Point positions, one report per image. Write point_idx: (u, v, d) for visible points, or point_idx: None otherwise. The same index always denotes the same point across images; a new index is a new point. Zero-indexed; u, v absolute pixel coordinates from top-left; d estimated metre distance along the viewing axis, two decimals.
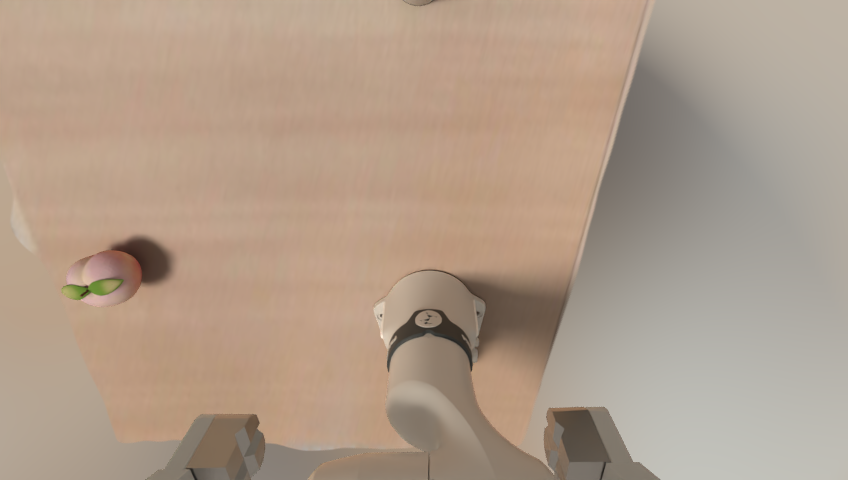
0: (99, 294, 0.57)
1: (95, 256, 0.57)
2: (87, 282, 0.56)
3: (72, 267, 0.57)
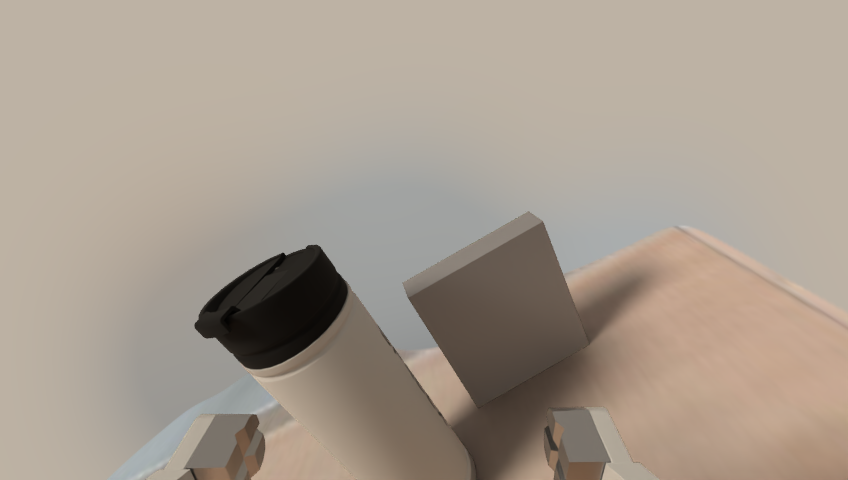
0: None
1: None
2: None
3: None
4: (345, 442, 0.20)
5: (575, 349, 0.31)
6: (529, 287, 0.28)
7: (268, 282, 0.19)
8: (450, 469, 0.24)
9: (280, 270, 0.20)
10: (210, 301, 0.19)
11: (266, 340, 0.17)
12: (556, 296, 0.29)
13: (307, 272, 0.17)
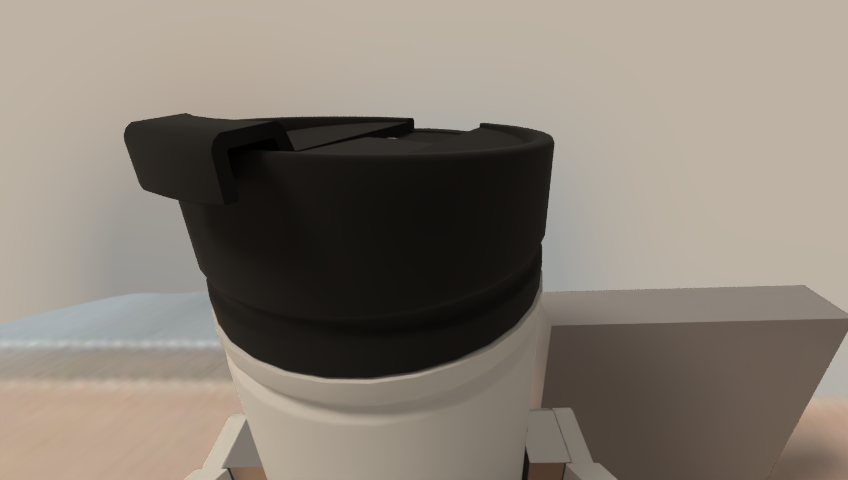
0: None
1: None
2: None
3: None
4: None
5: None
6: (738, 408, 0.15)
7: (379, 146, 0.07)
8: None
9: None
10: None
11: (326, 294, 0.05)
12: (762, 441, 0.16)
13: (539, 155, 0.05)
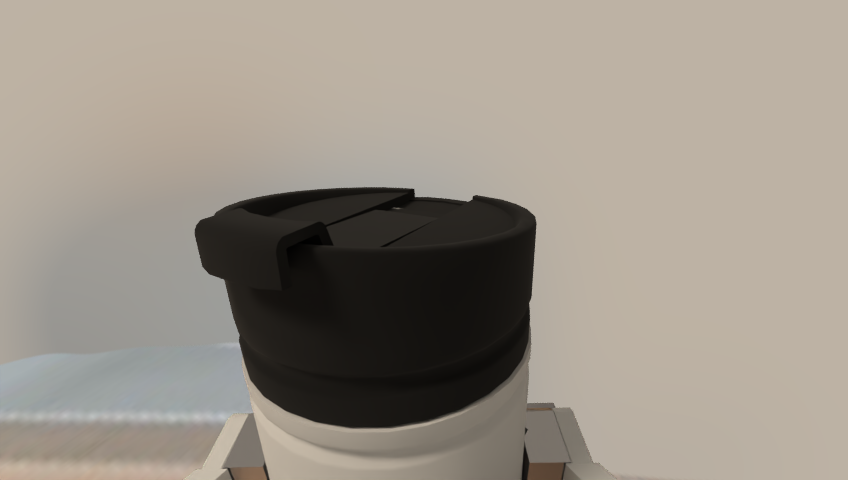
0: None
1: None
2: None
3: None
4: None
5: None
6: None
7: (388, 221, 0.08)
8: None
9: (407, 214, 0.10)
10: (250, 201, 0.09)
11: (354, 357, 0.06)
12: None
13: (524, 238, 0.07)
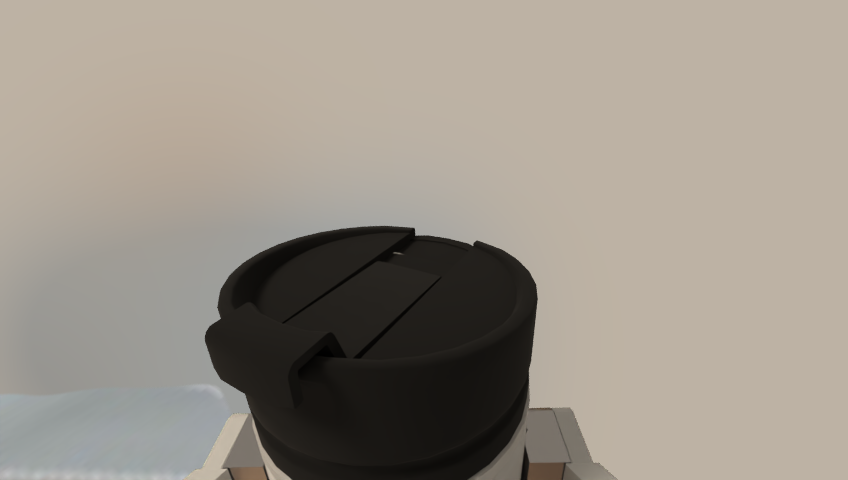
0: None
1: None
2: None
3: None
4: None
5: None
6: None
7: (391, 283, 0.08)
8: None
9: (408, 263, 0.10)
10: (253, 262, 0.09)
11: (364, 452, 0.06)
12: None
13: (526, 324, 0.07)
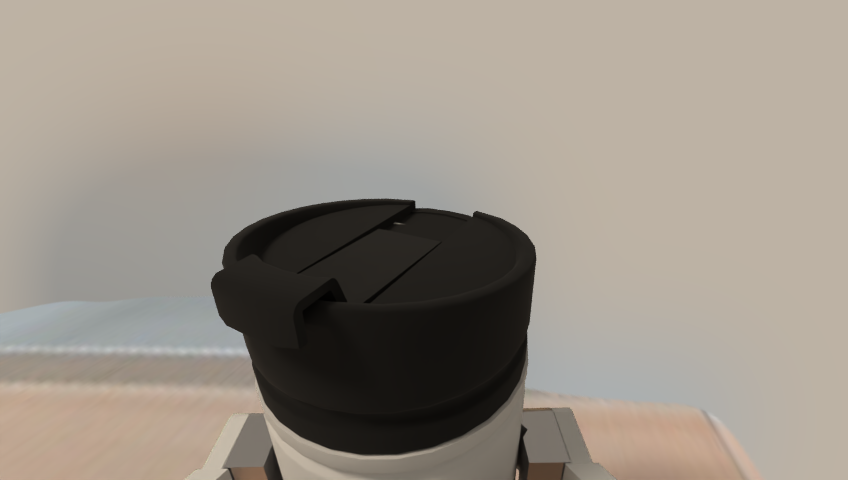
0: None
1: None
2: None
3: None
4: None
5: None
6: None
7: (392, 247, 0.09)
8: None
9: (408, 232, 0.10)
10: (256, 226, 0.09)
11: (366, 398, 0.06)
12: None
13: (525, 279, 0.07)
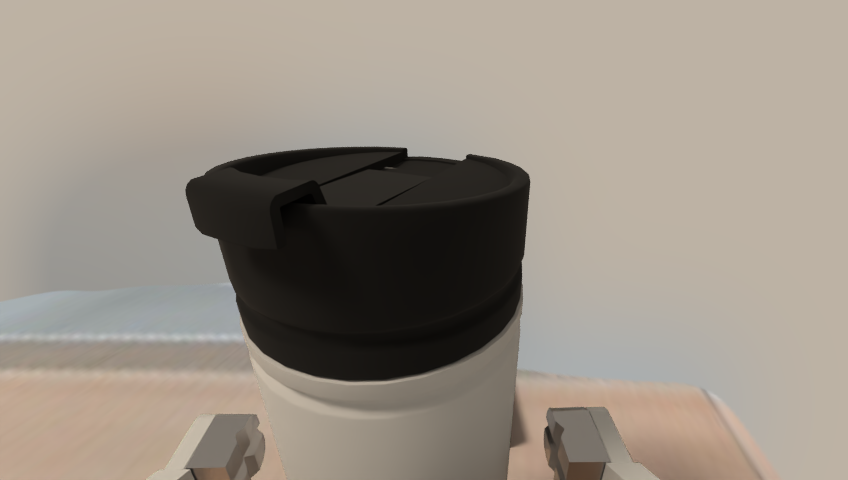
0: None
1: None
2: None
3: None
4: None
5: None
6: None
7: (382, 181, 0.08)
8: None
9: None
10: (240, 161, 0.08)
11: (351, 314, 0.06)
12: None
13: (518, 196, 0.07)
